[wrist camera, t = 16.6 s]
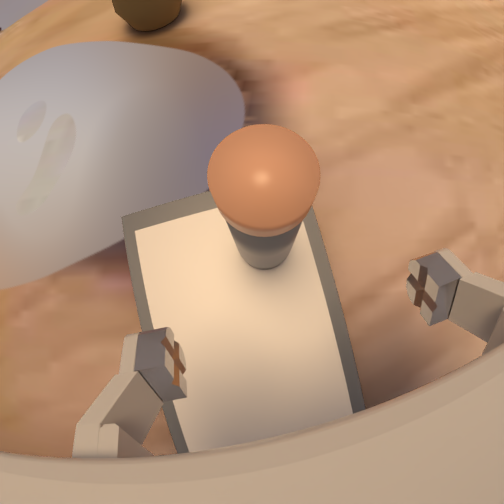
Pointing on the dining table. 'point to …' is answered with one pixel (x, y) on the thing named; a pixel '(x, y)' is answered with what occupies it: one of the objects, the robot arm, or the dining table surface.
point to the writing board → (241, 327)
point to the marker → (263, 190)
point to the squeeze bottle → (147, 12)
